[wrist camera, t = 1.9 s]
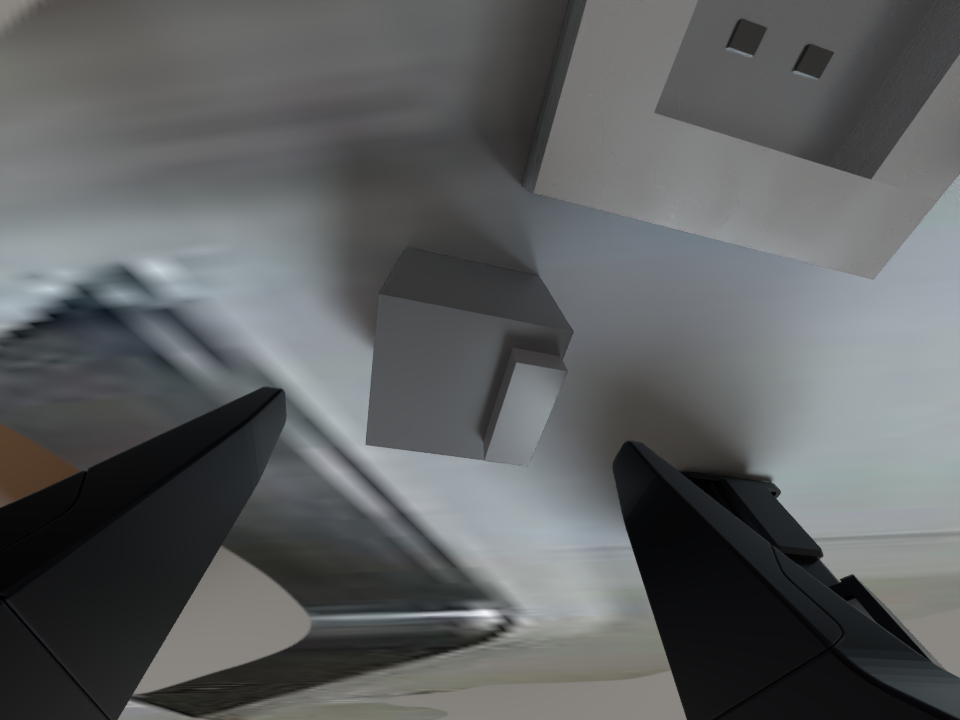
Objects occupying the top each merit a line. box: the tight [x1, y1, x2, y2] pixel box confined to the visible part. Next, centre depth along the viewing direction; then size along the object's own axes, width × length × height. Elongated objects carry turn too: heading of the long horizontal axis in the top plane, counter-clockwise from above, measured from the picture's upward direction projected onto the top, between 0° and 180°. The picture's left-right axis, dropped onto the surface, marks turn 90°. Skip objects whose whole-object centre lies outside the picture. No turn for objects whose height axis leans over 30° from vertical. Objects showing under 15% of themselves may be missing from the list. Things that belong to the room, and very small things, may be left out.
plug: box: [366, 247, 573, 466], centre depth 12 cm, size 5×5×6 cm
